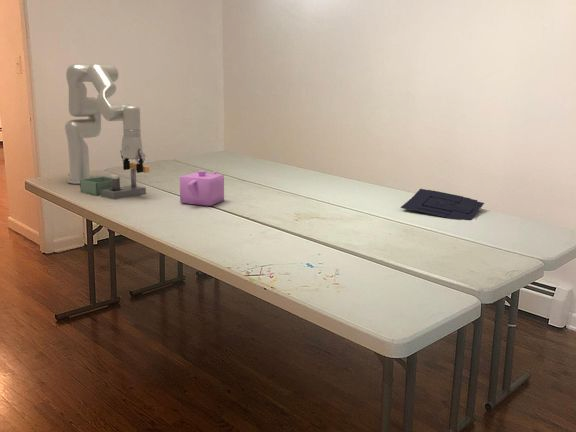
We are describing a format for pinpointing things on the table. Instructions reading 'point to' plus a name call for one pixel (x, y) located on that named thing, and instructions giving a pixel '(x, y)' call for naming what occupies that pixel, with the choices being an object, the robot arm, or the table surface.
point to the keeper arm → (145, 168)
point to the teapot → (202, 188)
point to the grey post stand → (125, 189)
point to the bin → (95, 185)
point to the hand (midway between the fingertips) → (133, 170)
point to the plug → (115, 182)
